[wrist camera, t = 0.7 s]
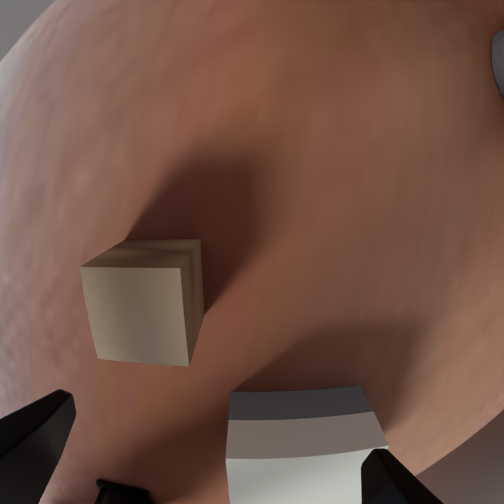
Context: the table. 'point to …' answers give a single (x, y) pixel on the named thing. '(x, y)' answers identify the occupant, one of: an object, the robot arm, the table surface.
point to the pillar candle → (498, 59)
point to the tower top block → (300, 459)
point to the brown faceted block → (146, 301)
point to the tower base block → (298, 404)
